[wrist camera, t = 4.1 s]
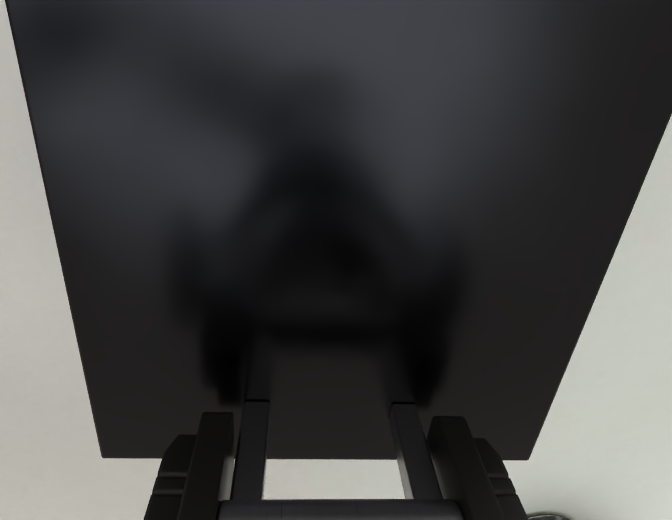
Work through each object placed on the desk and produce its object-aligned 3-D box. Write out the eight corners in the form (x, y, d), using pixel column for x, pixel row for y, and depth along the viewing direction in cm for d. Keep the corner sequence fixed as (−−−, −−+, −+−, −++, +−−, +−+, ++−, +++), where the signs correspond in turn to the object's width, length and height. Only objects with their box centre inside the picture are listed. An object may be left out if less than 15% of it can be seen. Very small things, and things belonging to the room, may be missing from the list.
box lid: (518, 440, 15) (612, 628, 11) (111, 436, 14) (17, 647, 9) (688, 3, 9) (1060, -1, 5) (13, -72, 8) (-362, -173, 3)
